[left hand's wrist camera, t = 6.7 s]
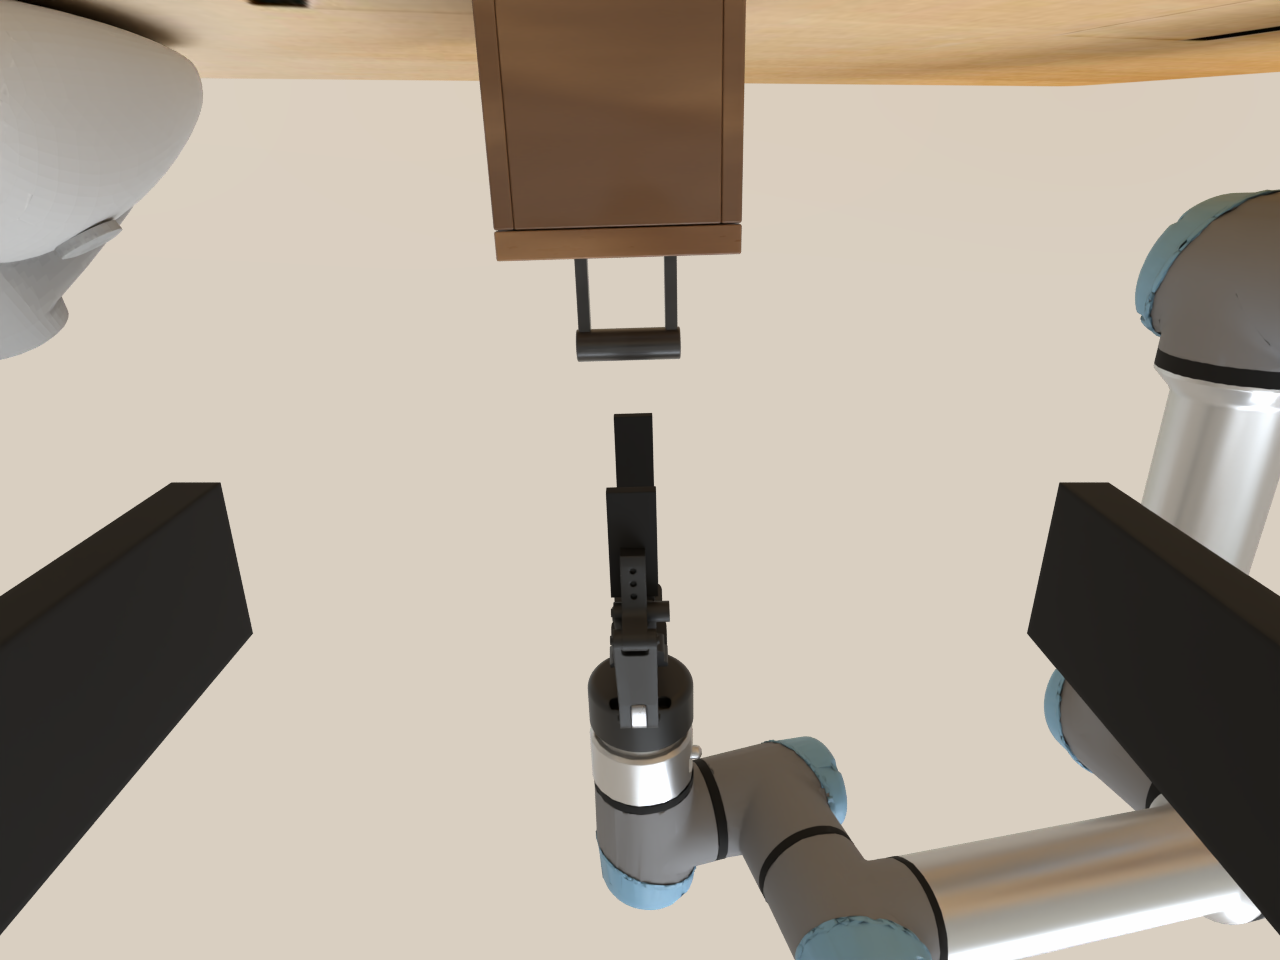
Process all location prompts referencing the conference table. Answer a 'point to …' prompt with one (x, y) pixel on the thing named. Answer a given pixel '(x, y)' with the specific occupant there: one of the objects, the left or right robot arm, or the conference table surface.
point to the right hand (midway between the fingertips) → (632, 446)
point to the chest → (612, 111)
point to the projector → (76, 151)
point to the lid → (617, 245)
